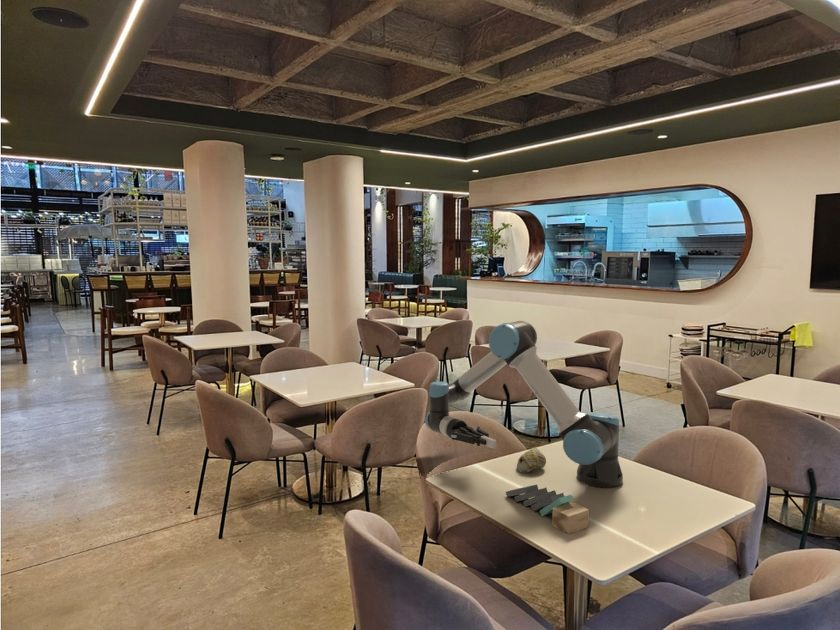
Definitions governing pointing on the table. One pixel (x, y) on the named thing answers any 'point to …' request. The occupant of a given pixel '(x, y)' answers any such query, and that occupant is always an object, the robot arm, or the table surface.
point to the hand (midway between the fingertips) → (494, 444)
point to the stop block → (570, 517)
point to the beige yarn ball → (531, 460)
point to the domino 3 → (539, 498)
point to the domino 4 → (546, 502)
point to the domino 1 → (522, 490)
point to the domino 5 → (556, 504)
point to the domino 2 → (530, 494)
